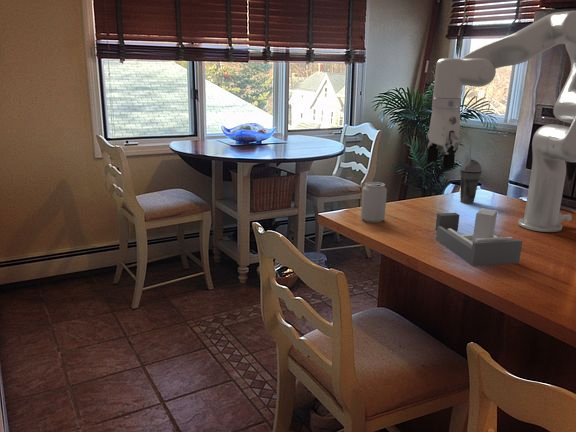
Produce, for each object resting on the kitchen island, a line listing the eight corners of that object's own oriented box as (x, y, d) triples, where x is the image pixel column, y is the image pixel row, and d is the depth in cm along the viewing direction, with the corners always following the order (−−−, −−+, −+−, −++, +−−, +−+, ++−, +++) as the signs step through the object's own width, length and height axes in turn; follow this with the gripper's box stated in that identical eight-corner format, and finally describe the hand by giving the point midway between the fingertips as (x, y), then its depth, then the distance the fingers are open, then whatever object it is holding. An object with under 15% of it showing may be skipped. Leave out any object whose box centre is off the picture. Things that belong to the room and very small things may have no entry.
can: (384, 224, 165) (386, 186, 162) (360, 222, 166) (362, 185, 163) (384, 217, 172) (387, 181, 169) (361, 215, 174) (363, 180, 170)
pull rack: (459, 228, 161) (461, 209, 159) (509, 259, 137) (513, 237, 135) (429, 230, 159) (431, 211, 157) (474, 262, 135) (477, 239, 133)
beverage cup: (480, 205, 189) (487, 149, 183) (459, 204, 189) (466, 149, 183) (473, 199, 196) (480, 146, 190) (454, 199, 196) (460, 145, 190)
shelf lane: (477, 237, 154) (480, 217, 153) (519, 263, 136) (522, 240, 134) (435, 239, 152) (438, 219, 150) (472, 265, 133) (475, 243, 131)
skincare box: (486, 259, 137) (492, 215, 134) (470, 256, 140) (475, 212, 136) (491, 253, 142) (497, 210, 139) (475, 249, 144) (481, 207, 141)
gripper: (474, 107, 140) (466, 171, 145) (443, 102, 156) (437, 159, 161) (448, 107, 139) (441, 171, 144) (420, 101, 155) (414, 159, 160)
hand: (439, 164), depth 152 cm, fingers open, 9 cm apart
